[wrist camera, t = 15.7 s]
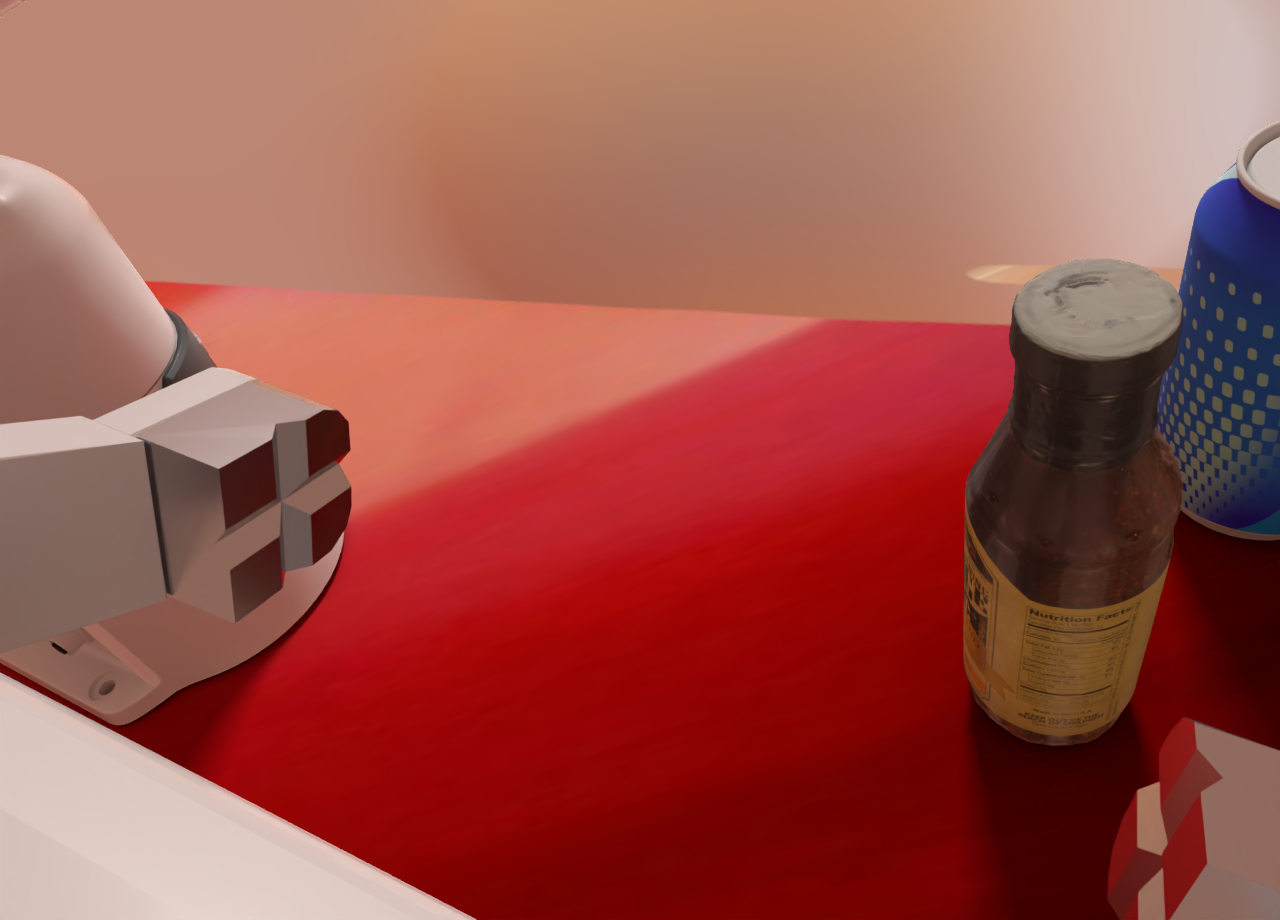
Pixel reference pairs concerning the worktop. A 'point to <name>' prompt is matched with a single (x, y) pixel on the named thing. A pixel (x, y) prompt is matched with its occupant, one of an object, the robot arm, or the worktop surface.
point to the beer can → (1231, 351)
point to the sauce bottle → (1073, 504)
